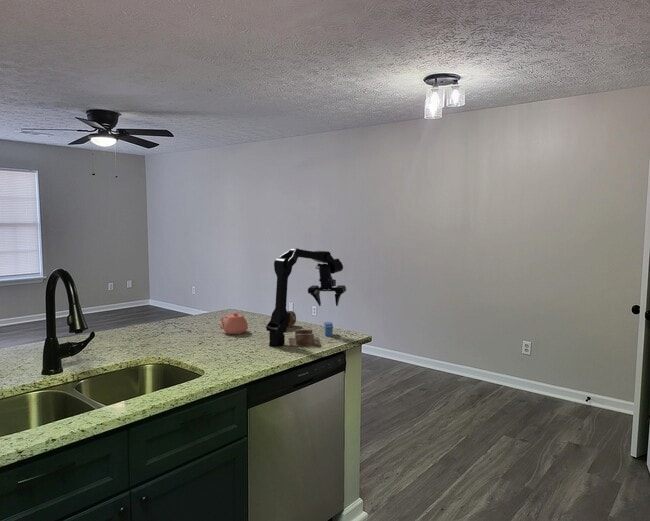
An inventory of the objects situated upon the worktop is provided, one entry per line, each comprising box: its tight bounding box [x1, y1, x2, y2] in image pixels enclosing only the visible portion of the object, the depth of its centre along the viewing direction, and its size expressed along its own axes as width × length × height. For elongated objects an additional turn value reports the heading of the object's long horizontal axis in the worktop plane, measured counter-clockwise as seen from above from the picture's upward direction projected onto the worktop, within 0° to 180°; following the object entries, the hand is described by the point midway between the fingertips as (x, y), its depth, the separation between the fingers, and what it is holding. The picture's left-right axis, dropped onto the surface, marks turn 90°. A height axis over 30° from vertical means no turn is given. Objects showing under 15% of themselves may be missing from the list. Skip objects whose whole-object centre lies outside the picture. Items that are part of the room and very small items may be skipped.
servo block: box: [323, 321, 334, 337], centre depth 230 cm, size 3×9×6 cm, turn 7°
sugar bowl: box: [219, 312, 249, 335], centre depth 233 cm, size 12×14×10 cm
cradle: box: [288, 328, 322, 348], centre depth 215 cm, size 14×14×5 cm
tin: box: [276, 310, 297, 329], centre depth 245 cm, size 15×3×8 cm, turn 143°
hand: (328, 305), depth 233 cm, fingers open, 9 cm apart
